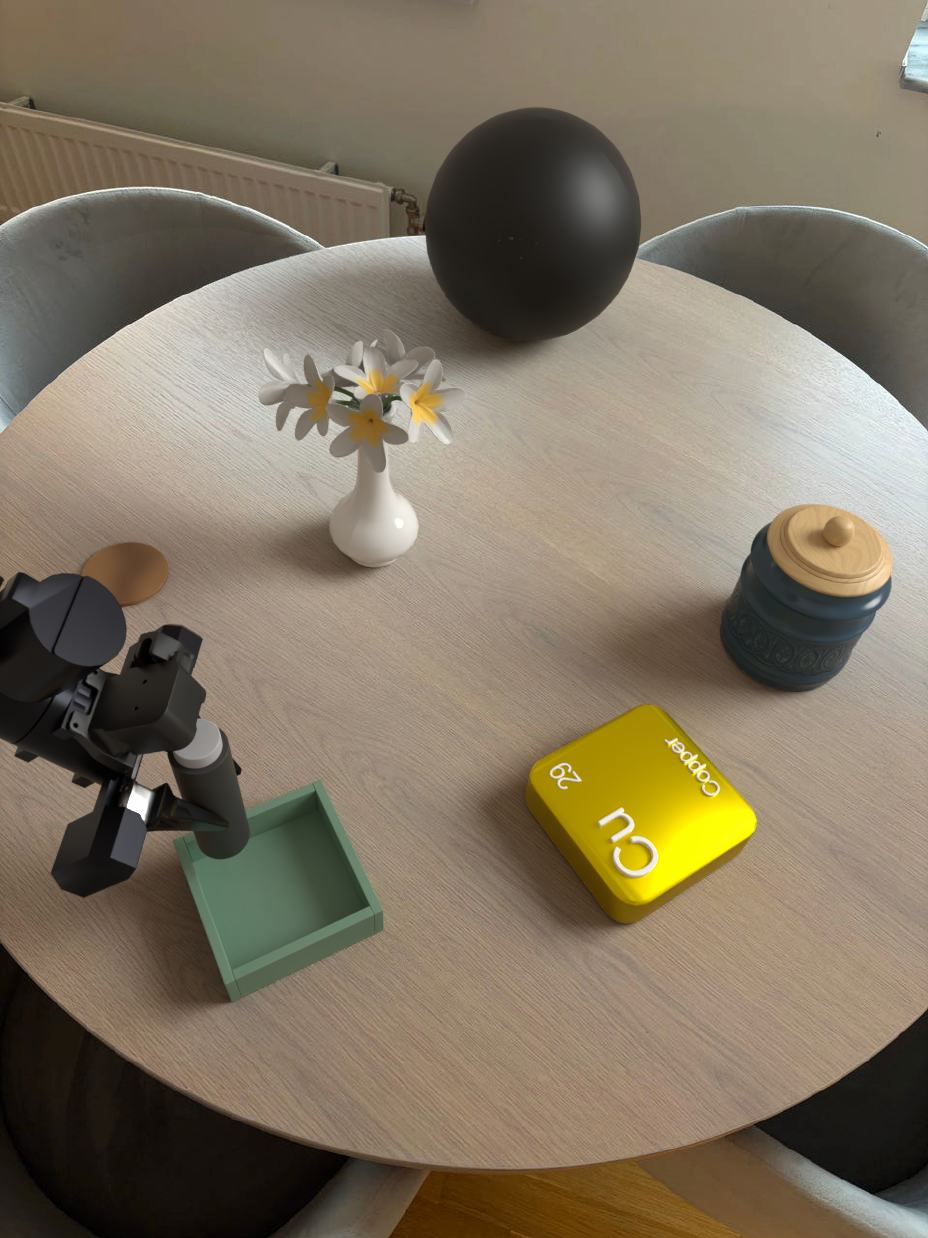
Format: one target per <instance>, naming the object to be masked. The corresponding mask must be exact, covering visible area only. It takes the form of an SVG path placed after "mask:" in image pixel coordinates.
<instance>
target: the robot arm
mask: <svg viewBox="0 0 928 1238" xmlns="http://www.w3.org/2000/svg"><path fill="white" fill-rule="evenodd" d="M4 581H5V579H4V577H3V576H1V575H0V740H2V741H5V742H7V743H9V744H10V745H13V746H15V747H16V749H15V750H16V751H15V753H14V755H13V757H15V758H17V759H19V760H22V761H24V762H26V763H31V762H32V761H33V760H36V759H37V758H40V759H43V760H44V761H47V762H49V763H52V764H53V765H56V766H58V767H60V768H62V769H64V770H67V771H69V772H71V773H73V776H72V779H71V783H72V784H74V785H76V786H78V787H81V788H83V789H86V788H88V787H90V786H92V785H94V784H97V785H99V786H100V789H99V790H98V791H99V792H98V794H97V798H96V801H95V803H94V807H93V810H92V811H91V812H89V813H87V814H85V815H82V816H81V817H79V818H77V819H75V820H73V821H71V822H68V823H67V824H66V827H65V830H64V833H63V835H62V839H61V842H60V844H59V847H58V851H57V852H56V856H55V859H54V862H53V864H52V868H51V870H50V875H51V876H52V878H53V880H54V881H55V882H56V884H57V886H58V887H59V889H60V890H61V891H64V892H67V893H70V894H72V895H75V896H77V897H80V898H83V899H85V898H87V897H90V896H93V895H95V894H97V893H99V892H101V891H104V890H106V889H110V888H111V887H114V886H116V885H118V884H121V883H124V882H125V881H128V880H129V879H130V878H131V877H132V875H133V874H134V872H135V871H136V870H137V867H138V864H139V860H140V857H141V854H142V850H143V846H144V843H145V840H146V837H147V833H151V832H193V831H222V830H225V829H227V828H228V827H229V822H228V821H226V820H225V819H223V818H222V817H220V816H218V815H217V814H215V813H213V812H210V811H208V810H206V809H203V808H201V807H199V806H197V805H194V804H192V803H190V802H187V801H185V800H183V799H182V798H181V797H178V796H176V795H175V794H174V792H173V790H172V788H171V786H170V784H169V782H164V783H162V784H160V785H157V786H156V787H154V788H149V787H148V786H145V785H143V784H141V783H138V781H137V777H138V774H139V771H140V767H141V764H142V761H143V758H144V755H149V754H155V753H160V752H165V753H167V750H169V751H178V750H182V749H184V748H185V747H187V746H188V745H189V744H190V743H191V742H192V741H193V739H194V737H195V734H196V731H197V727H196V723H197V719H202V717H201V716H200V712H201V708H202V705H203V704H205V702H206V697H207V691H206V688H204V687H203V686H202V684H200V683H199V682H198V681H197V680H196V679H195V678H194V677H193V671H194V668H196V665H197V660H198V657H199V654H200V651H201V647H202V643H203V640H204V639H203V637H202V636H201V635H199V634H198V633H197V632H195V631H193V630H191V629H190V628H188V627H186V626H185V625H183V624H179V623H167V624H163V625H161V626H159V627H158V628H157V629H155V630H152V631H148V632H143V633H141V634H140V635H139V637H138V640H137V642H135V643H134V644H132V645H131V646H129V647H128V650H127V653H126V656H125V658H124V661H123V665H122V667H121V670H120V673H114V672H109V671H105V670H103V669H101V668H102V667H104V666H106V665H107V664H108V663H110V662H111V661H112V660H113V659H116V657H117V656H118V655H119V654H120V652H121V651H122V650H123V648H124V646H125V644H126V640H127V631H128V627H127V620H126V619H127V618H126V616H125V614H124V611H123V609H122V607H121V606H120V604H119V603H118V601H117V599H116V598H115V596H114V595H113V594H112V593H111V592H110V591H109V590H108V589H107V588H106V587H105V586H104V585H102V584H101V583H100V582H98V581H97V580H95V579H93V578H91V577H89V576H81V575H80V574H76V573H73V572H71V573H70V572H68V573H67V572H61V573H56V574H51V575H49V576H47V577H46V578H44V579H42V580H41V581H39V580H37V579H36V578H34V577H32V576H31V575H29V574H27V573H26V572H23V571H18V572H17V573H16V574H14V575H13V576H12V577H10V578H9V579H8V580H7V581H6V583H5V586H4V588H2V585H3V583H4ZM1 588H2V589H1ZM233 762H234V766H235V770H236V774H237V777H239V776H240V775H241V774H242V772H243V771H242V770H243V769H242V767H241V766H240V765H239V764H238V762H237V761H236V760H235V759H234V758H233Z"/></svg>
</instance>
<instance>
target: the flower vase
mask: <svg viewBox="0 0 928 1238" xmlns="http://www.w3.org/2000/svg"><path fill="white" fill-rule="evenodd" d="M382 335H383V339H384V342H385V345H386V348H387V349H386V348H385V347H384V346H381V345H378V344H377V343H378V339H375V340H373V342H371V343H370V344H369V345H368V346H367V347H366V348H365V349H364V342H363V341H362V340H358V341H357V342H355V343H354V344H353V345H352V346H351V348H350V350H349V351H348V353H347V355H346V358H345V364H339V365H336V366H334V367H331V368H328V369H326V370H324V371H322V372H321V373H320V371H319V368H318V367H317V364H316V362H315V360H314V358H313V356H312V355H311V354H310V353H307V354H305V356H304V358H303V366H302V367H303V374H304V378H305V381H306V382H307V383H301V381H300V380H299V379H298V377H297V375H296V372H295V370H294V368H293V365H292V362H291V358H290V355H289V354H288V352H284V353H283V355H282V359H281V360H279V358H278V357H277V356H276V355H275V353H274V352H273V351H272V350H271V349H270V348H269V347H265V348H264V349H263V353H262V354H263V359H264V363H265V366H266V368H267V370H268V371H269V373H270V375H271V376H272V377H274V378H275V379H277V380H270V381H268V382H266V383H265V384H263V385H262V386H261V387H260V389H259V390H258V391H259V392H258V401H259V402H260V404H262V405H263V406H268V407H269V406H273V405H276V404H279V403H280V404H279V405H278V407H277V409H276V413H275V426H276V430H277V432H281V431H282V430H283V428H284V426H285V425H286V422H287V419H288V417H289V415H290V413H291V411H292V410H294V409H296V407H297V408H300V409H306V410H305V411H303V412H302V413H301V414H300V416H299V417H298V419H297V422H296V423H295V429H294V439H296V441H298V442H299V441H302V440H303V439H304V438H305V437H307V435H308V434H309V433H310V431H311V430H312V429H313V427H314V426H315V425H316V429H317V433H318V434H319V436H321V437H326V436H327V435H328V433H329V427H330V420H331V421H332V422H333V423H334V424H336V425H338V426H341V427H344V428H345V429H343V431H342V432H340V433H339V434H338V435H336V437H335V438H334V439H333V440H332V441H331V443H330V445H329V449H328V451H329V454H330V455H331V456H332V457H334V458H345V457H347V456H351V455H352V454H353V453H355V452H356V451H357V465H356V467H357V469H356V481H355V485H354V487H353V490H351V491H349V492H348V493H347V494H346V495H344V496H343V497H341V498H340V500H339V501H337V504H336V505H334V508H333V509H332V513H331V516H330V519H329V534H330V537H331V539H332V542H333V543H334V545H335V546H336V547H337V549H339V551H340V552H341V553H343V554H344V555H345V556H347V557H349V558H350V559H351V560H352V561H353V562H355V563H356V564H358V565H359V566H363V567H365V568H372V569H375V568H383V567H386V566H389V565H391V564H394V563H395V562H396V561H398V560H399V559H400V557H402V556H404V555H405V554H406V553H407V552H408V551H409V550H411V549H412V547H413V546H414V544H415V542H416V541H417V538H418V535H419V531H420V525H419V517H418V514H417V512H416V510H415V508H414V506H413V504H412V503H411V501H409V500H408V499H407V498H406V497H405V496H404V495H403V494H402V493H400V492H398V491H396V490H395V489H394V487H393V484H392V480H391V474H390V457H389V445H392V446H398V445H404V444H406V443H407V442H409V443H410V444H417V443H418V442H419V441H421V439H423V437H424V436H425V432H426V429H427V428H428V430H430V432H431V433H432V434H433V436H434V437H435V438H436V439H437V440H438V441H439V442H440V443H441V444H443V445H446V446H449V445H450V444H452V443H453V439H454V432H453V428H452V425H451V423H450V421H449V420H448V418H447V417H446V416H445V415H444V414H443V413H441V412H444V413H445V412H450V411H454V410H456V409H457V408H459V407H461V406H462V405H463V404H464V403H465V401H466V400H467V391H466V390H465V389H464V388H462V387H459V386H449V387H444V388H441V389H438V388H440V386H441V384H442V382H446V381H447V377H446V376H445V375H444V374H443V366H442V363H441V360H439V359H436V352H435V351H434V350H433V349H432V347H429V346H416V347H414V348H411V349H410V350H409V351H408V352H407V354H406V351H405V346H404V344H403V342H402V340H401V339H400V337H399V336H398V335H396V334H395V333H394V332H393V331H392V330H390V329H388V328H384V329H383V330H382ZM387 365H388V369H387ZM426 366H427V368H425V367H426ZM416 380H418V381H419V380H421V381H422V382H421V383H420V384H419V385H418V384H415V383H413V382H403V381H416ZM346 388H354V390H353V391H350V390H348V389H346ZM334 392H338V393H341V394H343V395H346V396H347V397H350V398H351V399H350V400H343V399H335V398H333V395H334ZM395 401H398V402H399V401H400V402H403V403H404V405H405V406H406V407H408V408H409V409H410V418H409V422H408V425H407V430H405V429H404V428H402V427H400V426H399V425H396V424H394V423H392V422H393V420H394V418H395V417H396V415H397V412H398V409H397V404H396V402H395Z"/></svg>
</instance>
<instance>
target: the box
mask: <svg viewBox="0 0 928 1238" xmlns="http://www.w3.org/2000/svg"><path fill="white" fill-rule="evenodd" d="M245 812H246V816H247V820H248V824H249V828H250V837H249V841H248V843H247V845H246V846H245V848H244V849H243V850H242V851H241V852H240V853H238V854H237V855H235V856H233V857H231V858H228V859H213V858H210V857H208V856H206V855H205V854H204V853H203V852H202V851H201V850H200V848H199V846H198V844H197V841H196V838H195V835H194V832H193V831H190V832H188V833H186V834H184V835H182V836H180V837H177V838H174V839H173V840H172V843H173V846H174V850H175V851H176V854H177V857H178V859H179V862H180V866H181V869H182V870H183V873H184V876H185V879H186V881H187V884H188V887H189V890H190V893H191V896H192V899H193V901H194V904H195V907H196V909H197V913H198V915H199V918H200V921H201V923H202V926H203V929H204V932H205V935H206V937H207V938H206V939H207V940H208V943H209V946H210V949H211V951H212V954H213V958H214V960H215V962H216V965H217V968H218V971H219V974H220V977H221V979H222V982H223V984H224V987H225V990H226V993H227V994H228V995H227V996H228V997H229V1000H230V1002H232V1003H234V1002H235V1001H237V1000H240V999H242V998H244V997H246V996H248V995H250V994H253V993H254V992H257V991H259V990H261V989H263V988H265V987H267V986H269V985H271V984H273V983H276V982H277V981H280V980H282V979H283V978H286V977H288V976H290V975H292V974H294V973H296V972H298V971H301V970H302V969H305V968H307V967H309V966H312V965H313V964H315V963H317V962H319V961H321V960H324V959H326V958H328V957H329V956H331V955H334V954H336V953H338V952H340V951H342V950H344V949H346V948H348V947H350V946H352V945H353V946H354V944H357V943H359V942H361V941H363V940H365V939H367V938H369V937H372V936H374V935H376V934H378V933H380V932H383V931H384V909H383V906H382V904H381V902H380V900H379V898H378V896H377V894H376V891H375V889H374V887H373V885H372V883H371V882H370V879H369V876H368V875H367V873H366V871H365V869H364V867H363V865H362V862H361V860H360V858H359V856H358V854H357V852H356V850H355V848H354V846H353V844H352V842H351V839H350V837H349V835H348V833H347V831H346V829H345V826H344V825H343V822H342V819H341V818H340V817H339V814H338V813H337V810H336V808H335V806H334V804H333V802H332V799H331V797H330V795H329V794H328V791H327V789H326V787H325V785H324V783H323V781H322V779H318V780H316V781H313V782H312V783H308V784H306V785H304V786H302V787H301V786H300V787H298V788H297V789H294V790H291V791H289V792H287V793H284V794H282V795H280V796H276V797H275V798H272V799H269V800H267V801H264V802H262V803H260V804H258V805H255V806H252V807H250V808H248V809H245Z"/></svg>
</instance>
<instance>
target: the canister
mask: <svg viewBox="0 0 928 1238" xmlns="http://www.w3.org/2000/svg"><path fill="white" fill-rule="evenodd" d="M893 569H894V558H893V553H892V550H891V548H890V545H889V544H888V542H887V541H886V539H885V537H883V535H882V534H881V533H880V531H878V530H877V529H876V528H875V527H874V525H872V524H870V523H869V522H867V520H865V519H864V518H862V517H860V516H859V515H856V514H854V513H852V512H850V511H847V510H845V509H842V508H839V507H836V506H832V505H827V504H822V503H821V504H820V503H807V504H806V503H805V504H798V505H795V506H791V507H788V508H786V509H785V510H783V511H781V512H779V513H778V514H777V515H776V516H775V517H774V518H773V519H772V520H771V521H770V522H769V523H766V524H765V525H764V526H763V527H762V528H760V530H758V532H756V534H755V536H754V538H753V539H752V542H751V545H750V551H749V554H748V555H747V556H746V558H745V560H744V561H743V563H742V566H741V569H740V573H739V574H740V575H739V577H738V579H737V581H736V584H735V586H734V588H733V590H732V593H731V594H730V595H729V597H728V598H727V600H726V602H725V604H724V606H723V609H722V612H721V616H720V626H719V636H720V641H721V644H722V646H723V649H724V652H726V655H727V656H728V657H729V659H730V660H731V661H732V663H733V664H734V665H736V667H737V668H738V669H739V670H741V672H743V673H744V674H745V675H747V676H748V677H750V678H752V679H753V680H755V681H756V682H759V683H761V684H763V685H765V686H768V687H771V688H773V689H777V690H783V691H790V692H803V691H804V692H805V691H810V690H814V689H817V688H820V687H822V686H824V685H826V684H827V683H828V682H830V681H832V679H833V678H834V677H836V676H837V675H838V674H839V673H840V672H841V671H842V670H843V669H844V668H845V666H846V664H847V663H848V661H849V660H850V658H851V656H852V652H853V650H854V648H855V647H856V645H857V644H858V642H859V641H860V639H861V637H862V636H863V634H864V633H865V632H866V631H867V630H868V629H869V628H870V627H871V626H872V624H873V622H874V620H875V618H876V615H877V612H878V611H879V610H880V609H881V608H882V607H883V606H884V605H885V604H886V602H888V599H889V597H890V594H891V591H892V586H893V583H892V582H893V581H892V572H893Z"/></svg>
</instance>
